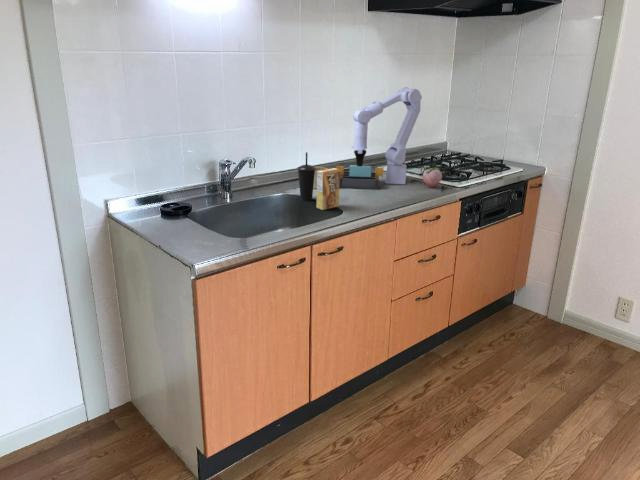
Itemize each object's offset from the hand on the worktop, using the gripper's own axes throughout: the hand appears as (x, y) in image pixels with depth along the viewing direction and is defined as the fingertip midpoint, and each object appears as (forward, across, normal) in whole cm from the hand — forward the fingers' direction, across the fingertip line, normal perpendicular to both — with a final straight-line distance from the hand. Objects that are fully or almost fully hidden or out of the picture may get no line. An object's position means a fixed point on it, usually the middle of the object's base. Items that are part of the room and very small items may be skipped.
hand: (359, 166), depth 241 cm
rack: (+9, 0, 0) cm, 9 cm away
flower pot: (+9, +8, -18) cm, 22 cm away
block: (+8, 0, 0) cm, 8 cm away
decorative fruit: (+9, -1, +34) cm, 35 cm away
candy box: (+9, +38, -12) cm, 41 cm away
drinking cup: (+9, +28, -22) cm, 37 cm away
